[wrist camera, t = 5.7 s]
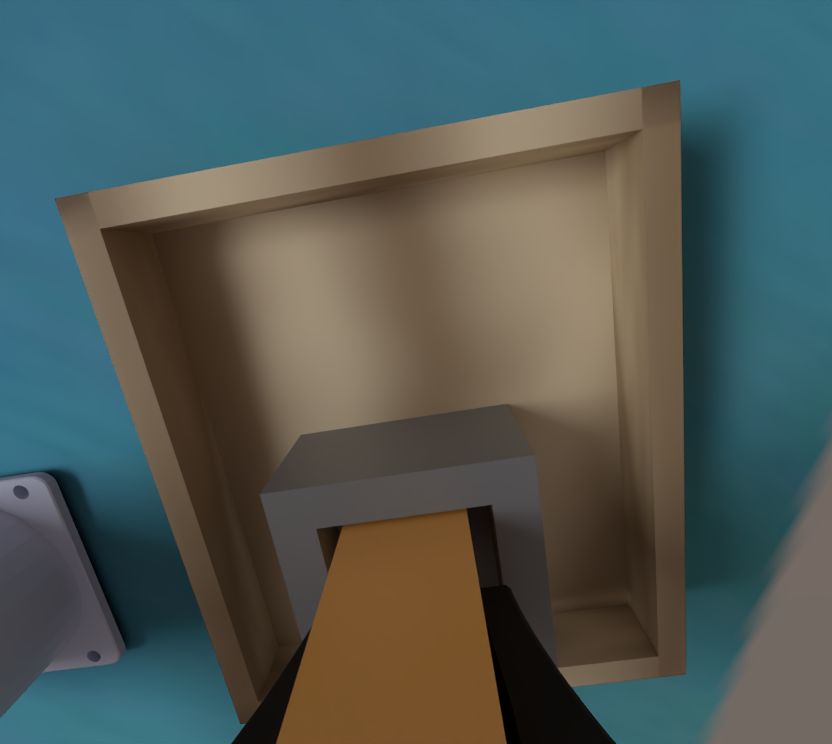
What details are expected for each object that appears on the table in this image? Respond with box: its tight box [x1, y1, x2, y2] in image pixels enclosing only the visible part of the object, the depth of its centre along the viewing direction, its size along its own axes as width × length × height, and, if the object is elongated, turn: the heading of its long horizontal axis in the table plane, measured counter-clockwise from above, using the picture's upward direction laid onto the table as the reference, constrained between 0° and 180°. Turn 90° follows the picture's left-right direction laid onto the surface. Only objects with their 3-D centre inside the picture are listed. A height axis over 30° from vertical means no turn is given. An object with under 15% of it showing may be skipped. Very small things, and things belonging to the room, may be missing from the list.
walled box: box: [55, 80, 686, 724], centre depth 13 cm, size 14×16×3 cm
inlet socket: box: [260, 404, 558, 668], centre depth 12 cm, size 6×7×4 cm
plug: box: [276, 508, 506, 744], centre depth 8 cm, size 3×4×8 cm
